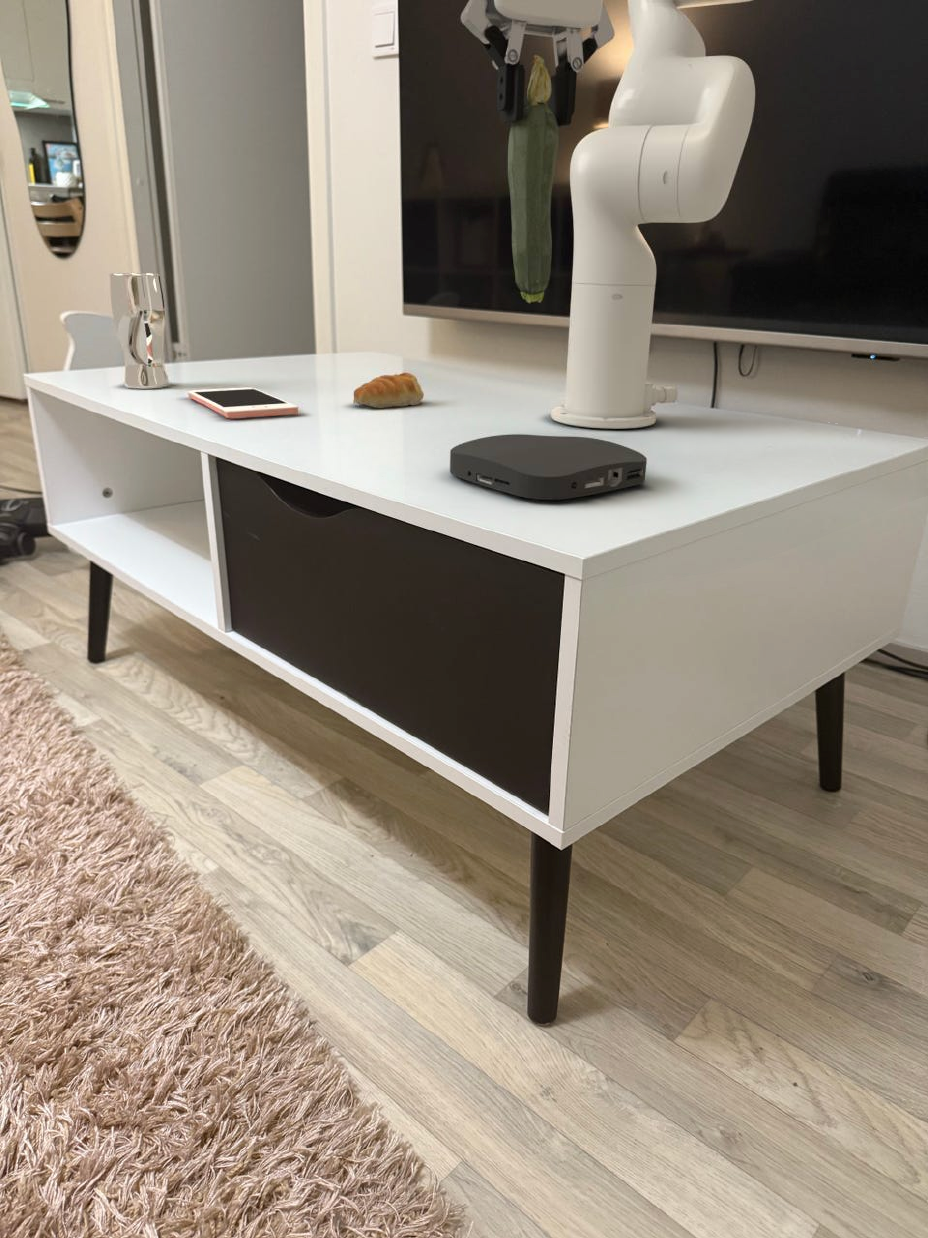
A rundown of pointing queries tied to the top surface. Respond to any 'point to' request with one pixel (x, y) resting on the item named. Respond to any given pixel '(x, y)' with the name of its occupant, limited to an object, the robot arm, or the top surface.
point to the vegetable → (533, 185)
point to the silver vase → (140, 327)
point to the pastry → (390, 391)
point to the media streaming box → (547, 465)
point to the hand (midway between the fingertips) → (535, 121)
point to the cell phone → (242, 402)
